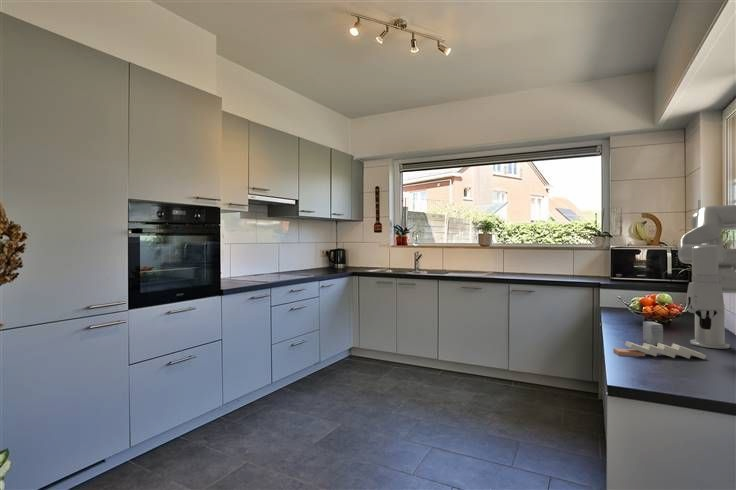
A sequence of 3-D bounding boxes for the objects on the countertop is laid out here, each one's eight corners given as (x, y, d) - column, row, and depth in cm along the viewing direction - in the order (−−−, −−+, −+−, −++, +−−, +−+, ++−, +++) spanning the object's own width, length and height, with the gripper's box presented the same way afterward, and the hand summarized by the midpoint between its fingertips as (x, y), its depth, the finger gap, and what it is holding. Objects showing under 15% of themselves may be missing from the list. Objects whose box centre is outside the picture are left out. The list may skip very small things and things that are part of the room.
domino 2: (651, 349, 156) (626, 340, 158) (657, 352, 151) (631, 343, 153) (649, 353, 156) (624, 344, 158) (656, 356, 151) (630, 347, 153)
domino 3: (668, 350, 155) (643, 342, 156) (675, 354, 150) (650, 345, 152) (667, 354, 155) (642, 346, 156) (674, 358, 150) (648, 349, 152)
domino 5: (698, 352, 153) (672, 343, 155) (706, 355, 148) (679, 346, 150) (696, 356, 153) (671, 347, 155) (704, 359, 148) (678, 350, 150)
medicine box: (663, 346, 169) (663, 325, 169) (651, 345, 170) (651, 324, 170) (654, 341, 177) (654, 321, 177) (642, 341, 177) (642, 321, 177)
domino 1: (639, 349, 157) (613, 348, 159) (645, 352, 152) (618, 351, 154) (639, 353, 157) (613, 352, 159) (645, 357, 152) (618, 355, 154)
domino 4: (683, 351, 154) (658, 342, 156) (691, 354, 149) (665, 345, 151) (681, 355, 154) (656, 346, 156) (689, 358, 149) (663, 349, 151)
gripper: (722, 278, 153) (722, 326, 153) (676, 278, 156) (677, 326, 157) (735, 280, 146) (735, 331, 146) (687, 280, 149) (687, 330, 149)
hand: (705, 328), depth 151 cm, fingers closed
